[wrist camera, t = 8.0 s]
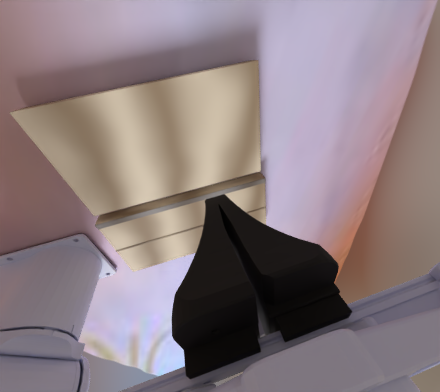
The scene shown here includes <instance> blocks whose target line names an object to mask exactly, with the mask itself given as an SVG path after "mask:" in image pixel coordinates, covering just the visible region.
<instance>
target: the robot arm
mask: <svg viewBox="0 0 440 392" xmlns="http://www.w3.org/2000/svg"><path fill="white" fill-rule="evenodd" d="M77 239H78V240H77ZM338 267H339V266H338V263H337V262H336V261H335V260H334V259H333V258H332V256H331V255H330V254H329V253H328V252H327V251H325V250H324V249H323V248H322V247H321V246H320V245H318V244H315V243H311V242H308V241H304V240H301V239H298V238H295V237H292V236H289V235H287V234H284V233H282V232H280V231H277V230H275V229H273V228H271V227H269V226H267V225H265V224H263V223H262V222H260V221H258V220H257V219H255V218H253V217H252V216H250V215H249V214H248V213H246V212H245V211H243V210H242V209H241V208H240V207H238V206H237V205H236V204H235V203H234V202H233V201H231V200H230V199H229V198H228V197H227V196H226V195H225V194H222V195H219V196H216V197H212V198H209V199H206V200H205V219H204V226H203V230H202V235H201V239H200V242H199V245H198V248H197V251H196V254H195V256H194V259H193V261H192V263H191V265H190V267H189V270H188V272H187V274H186V276H185V278H184V280H183V281H182V283H181V285H180V287H179V288H178V290H177V292H176V294H175V297H174V303H173V310H172V337H173V339H174V340H175V341H176V342H177V343H178V344H179V345H180V346H181V347H182V348H183V350H184V357H185V367H182V368H180V369H177V370H174V371H172V372H169V373H167V374H164V375H161V376H159V377H156V378H154V379H151V380H148V381H146V382H143V383H140V384H138V385H135V386H133V387H130V388H127V389H125V390H122V391H120V392H421V391H420V390H419V389H418V387H417V386H416V385H415V383H414V382H413V381H412V380H411V378H410V377H411V376H414V375H416V374H418V373H421V372H423V371H425V370H427V369H429V368H432V367H434V366H436V365H438V364H440V262H439V263H438V264H436V265H435V266H434V267H433V268H432V269H431V270H430V271H429V274H426V275H423V276H421V277H418V278H415V279H413V280H410V281H407V282H405V283H402V284H400V285H397V286H394V287H392V288H389V289H387V290H384V291H381V292H379V293H376V294H373V295H371V296H368V297H366V298H363V299H360V300H358V301H355V302H352V303H350V304H346V303H345V301H344V300H343V299H342V298H341V296H340V295H339V293H340V291H339V289H338V288H337V286H336V285H335V284H334V281H335V278H336V276H337V273H338ZM116 271H117V270H116V269H115V268H114V267H113V265H112V264H111V263H110V262H109V261H108V260H107V259H106V258H105V256H104V255H103V254H102V253H101V252H100V251H99V250H98V249H97V247H96V246H95V245H94V244H93V243H92V242H91V241H90V240H89V238H88V237H87V236H86V235H84V234H77V235H74V236H70V237H67V238H63V239H59V240H56V241H52V242H49V243H45V244H41V245H38V246H34V247H31V248H27V249H24V250H20V251H16V252H13V253H9V254H6V255H2V256H0V392H88V390H89V385H90V367H89V362H88V360H87V358H85V357H83V356H82V353H83V350H84V346H85V344H84V343H80V342H78V341H79V337H80V334H81V331H82V328H83V325H84V322H85V319H86V316H87V313H88V310H89V307H90V303H91V300H92V297H93V294H94V291H95V288H96V285H97V282H98V279H101V278H104V277H107V276H111V275H114V274H115V273H116ZM258 315H259V318H260V321H261V324H262V327H263V330H264V333H265V336H263V337H261V338H260V333H259V326H258V323H259V320H258ZM243 371H244V372H243ZM240 372H243V374H241V375H239V376H237V377H235V378H233V379H231V380H229V381H227V382H225V383H223V384H221V385H219V386H217V387H216V385H215V384H212V383H214V382H217V381H220V380H222V379H225V378H227V377H230V376H233V375H235V374H238V373H240Z"/></svg>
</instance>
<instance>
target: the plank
mask: <svg viewBox="0 0 440 392" xmlns="http://www.w3.org/2000/svg"><path fill="white" fill-rule="evenodd" d="M10 114H11V115H12V116H13V118H14V119H15V120H16V121H17V123H18V124H19V125H20V126H21V127H22V129H23V130H24V131H25V132H26V134H27V135H28V136H29V137H30V138H31V140H32V141H33V142H34V143H35V145H36V146H37V147H38V148H39V149H40V151H41V152H42V153H43V154H44V156H45V157H46V158H47V159H48V160H49V162H50V163H51V164H52V165H53V167H54V168H55V169H56V170H57V171H58V173H59V174H60V175H61V176H62V178H63V179H64V180H65V181H66V182H67V184H68V185H69V186H70V187H71V189H72V190H73V191H74V192H75V193H76V195H77V196H78V197H79V198H80V200H81V201H82V202H83V203H84V204H85V206H86V207H87V208H88V209H89V211H90V212H91V213H92V214H93V215H94V216H98V215H101V214H105V213H109V212H112V211H116V210H120V209H123V208H127V207H131V206H134V205H138V204H142V203H145V202H149V201H153V200H156V199H160V198H164V197H167V196H171V195H175V194H178V193H182V192H186V191H189V190H193V189H197V188H200V187H204V186H208V185H211V184H215V183H219V182H222V181H226V180H230V179H233V178H237V177H241V176H244V175H248V174H252V173H255V172H259V171H261V162H260V115H259V68H258V60H250V61H245V62H241V63H236V64H231V65H226V66H221V67H217V68H212V69H207V70H202V71H198V72H193V73H188V74H183V75H179V76H174V77H169V78H164V79H159V80H155V81H150V82H145V83H140V84H136V85H131V86H126V87H121V88H116V89H112V90H107V91H102V92H97V93H93V94H88V95H83V96H78V97H74V98H69V99H64V100H59V101H54V102H50V103H45V104H40V105H35V106H31V107H26V108H22V109H19V110H16V111H13V112H10Z"/></svg>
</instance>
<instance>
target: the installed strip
mask: <svg viewBox="0 0 440 392" xmlns="http://www.w3.org/2000/svg"><path fill="white" fill-rule="evenodd" d="M222 194H225V195H226V196H227V197H228V198H229V199H230V200H231V201H233V202H234V203H235V204H236V205H237V206H238V207H240V208H241V209H242V210H243V211H245V212H246V213H248V214H249V215H250V216H252V217H253V218H255V219H257V220H258V221H260V222H262V223H263V224H265V225H266V205H265V177H264V176H263V175H262V174H261V173H260V172H257V173H254V174H250V175H246V176H243V177H239V178H235V179H232V180H228V181H224V182H221V183H217V184H213V185H210V186H206V187H202V188H199V189H195V190H191V191H188V192H184V193H180V194H177V195H173V196H169V197H166V198H162V199H158V200H155V201H151V202H147V203H144V204H140V205H136V206H133V207H129V208H125V209H122V210H118V211H114V212H111V213H107V214H103V215H100V216H99V217H98V220H97V222H96V224H95V226H96V227H97V228H98V229H99V230H100V231H101V233H102V234H103V235H104V236H105V238H106V239H107V240H108V241H109V243H110V244H111V245H112V246H113V248H114V249H115V250H116V252H117V253H118V254H119V255H120V256H121V257H122V259H123V260H124V261H125V262H126V264H127V265H128V266H129V267H130V269H131V270H132V271H133V272H134V271H138V270H141V269H144V268H147V267H151V266H154V265H157V264H160V263H164V262H167V261H170V260H173V259H177V258H180V257H183V256H186V255H190V254H193V253H196V251H197V248H198V245H199V242H200V239H201V235H202V230H203V226H204V219H205V200H206V199H209V198H212V197H216V196H219V195H222Z"/></svg>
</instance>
